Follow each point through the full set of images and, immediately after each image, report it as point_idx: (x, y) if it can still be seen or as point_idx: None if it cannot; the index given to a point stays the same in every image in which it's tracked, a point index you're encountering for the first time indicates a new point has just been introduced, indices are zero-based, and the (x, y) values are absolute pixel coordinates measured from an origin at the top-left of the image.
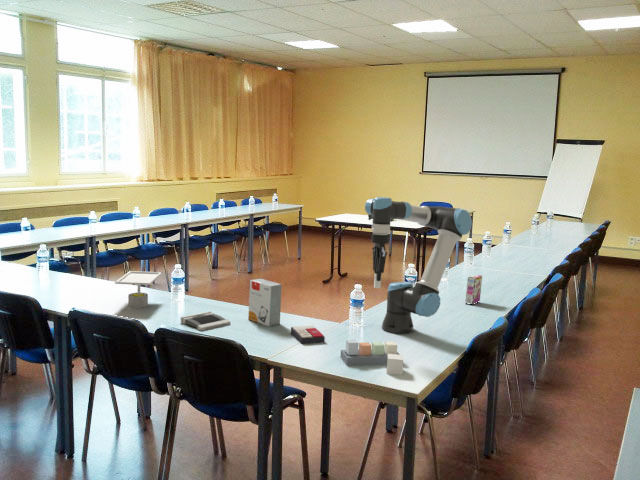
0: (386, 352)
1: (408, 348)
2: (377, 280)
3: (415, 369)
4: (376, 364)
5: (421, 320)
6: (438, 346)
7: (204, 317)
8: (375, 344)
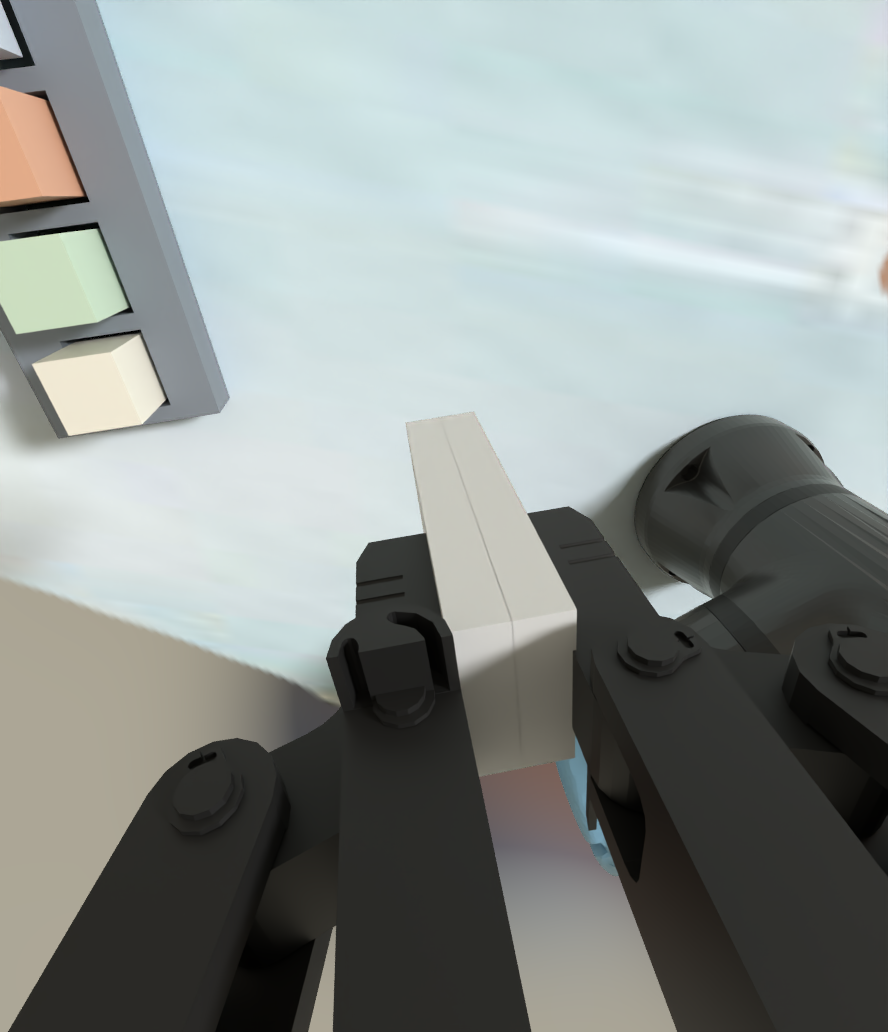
0: (83, 344)
1: (381, 502)
2: (363, 551)
3: (6, 481)
4: None
5: None
6: None
7: None
8: (6, 256)
